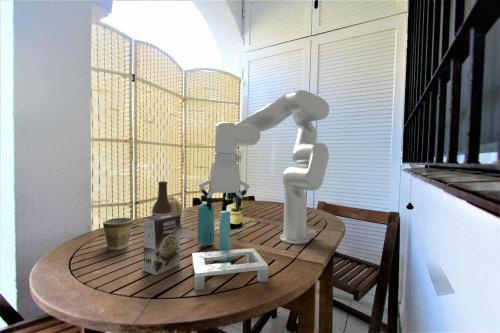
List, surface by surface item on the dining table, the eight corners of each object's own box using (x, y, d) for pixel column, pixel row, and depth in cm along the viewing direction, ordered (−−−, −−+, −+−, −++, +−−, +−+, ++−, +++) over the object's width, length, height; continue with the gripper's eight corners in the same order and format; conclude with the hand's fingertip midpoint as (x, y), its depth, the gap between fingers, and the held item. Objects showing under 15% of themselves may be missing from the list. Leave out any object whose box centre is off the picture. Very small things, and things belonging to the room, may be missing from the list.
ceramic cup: (137, 246, 93) (137, 220, 93) (108, 253, 86) (108, 225, 86) (124, 239, 102) (124, 215, 102) (96, 244, 95) (96, 219, 95)
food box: (156, 276, 70) (156, 220, 70) (142, 270, 74) (143, 217, 73) (180, 265, 78) (181, 214, 78) (167, 260, 82) (167, 212, 81)
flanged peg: (231, 253, 89) (232, 209, 88) (236, 261, 82) (237, 213, 82) (213, 255, 87) (213, 210, 86) (215, 263, 80) (216, 214, 80)
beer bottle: (148, 238, 103) (148, 181, 102) (161, 233, 110) (162, 180, 110) (162, 241, 100) (163, 182, 100) (175, 236, 107) (176, 181, 107)
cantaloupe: (153, 222, 129) (153, 194, 129) (182, 221, 133) (182, 193, 132) (148, 230, 115) (149, 198, 114) (181, 229, 118) (181, 198, 118)
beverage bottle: (210, 250, 92) (211, 196, 91) (194, 248, 93) (195, 195, 93) (216, 244, 98) (217, 194, 98) (201, 242, 99) (201, 193, 99)
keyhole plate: (253, 261, 82) (253, 248, 82) (267, 281, 69) (268, 265, 69) (192, 267, 77) (192, 253, 76) (194, 290, 63) (195, 273, 63)
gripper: (247, 160, 90) (245, 207, 90) (199, 158, 85) (197, 207, 85) (253, 160, 82) (251, 211, 82) (200, 158, 78) (198, 212, 78)
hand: (223, 209), depth 84 cm, fingers open, 9 cm apart
